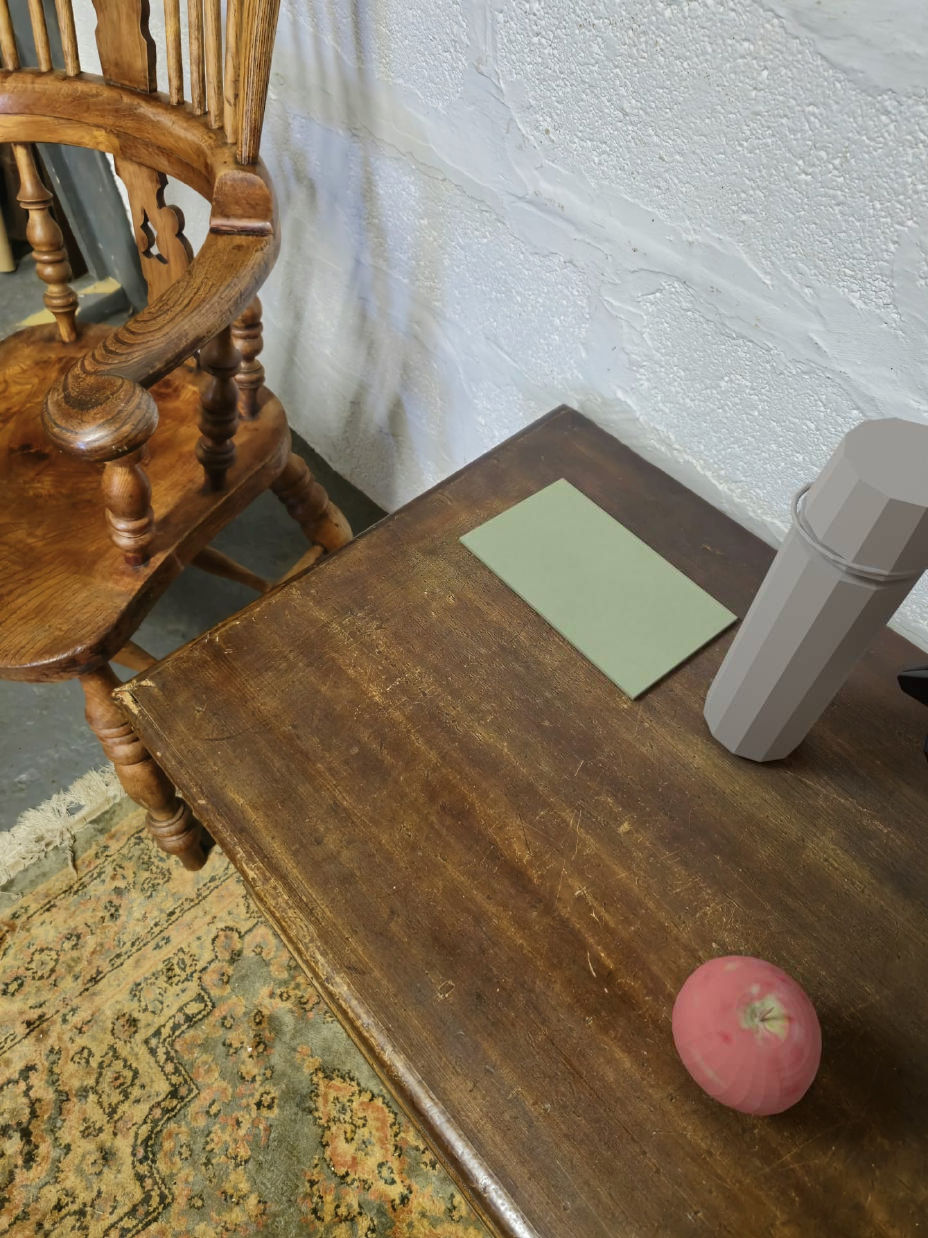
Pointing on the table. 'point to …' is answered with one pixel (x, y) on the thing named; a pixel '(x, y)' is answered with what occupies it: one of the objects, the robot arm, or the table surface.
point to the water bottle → (826, 590)
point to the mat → (599, 585)
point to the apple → (747, 1034)
